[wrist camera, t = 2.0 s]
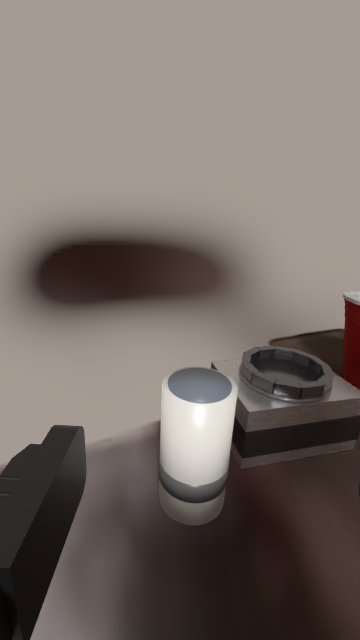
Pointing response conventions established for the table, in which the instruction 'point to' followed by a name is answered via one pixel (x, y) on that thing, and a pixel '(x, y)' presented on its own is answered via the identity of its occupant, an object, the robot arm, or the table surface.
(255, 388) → the banded square pedestal
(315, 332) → the table surface
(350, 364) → the plastic cup
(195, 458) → the lens barrel
